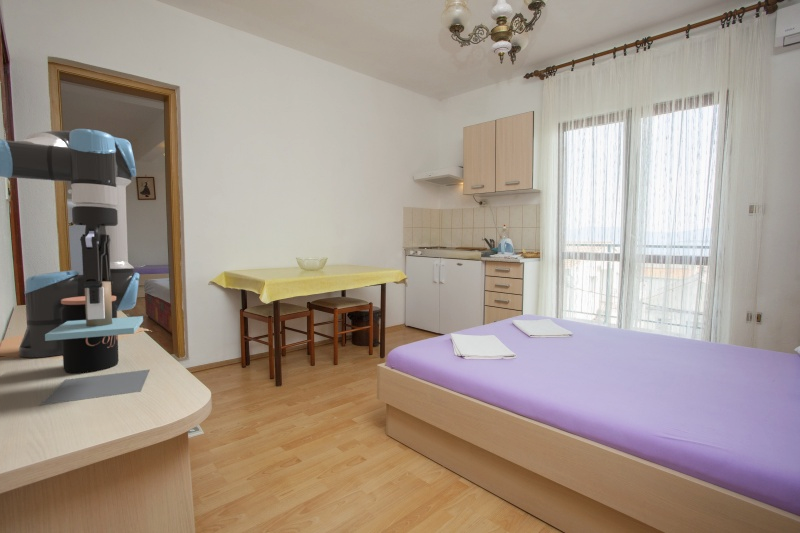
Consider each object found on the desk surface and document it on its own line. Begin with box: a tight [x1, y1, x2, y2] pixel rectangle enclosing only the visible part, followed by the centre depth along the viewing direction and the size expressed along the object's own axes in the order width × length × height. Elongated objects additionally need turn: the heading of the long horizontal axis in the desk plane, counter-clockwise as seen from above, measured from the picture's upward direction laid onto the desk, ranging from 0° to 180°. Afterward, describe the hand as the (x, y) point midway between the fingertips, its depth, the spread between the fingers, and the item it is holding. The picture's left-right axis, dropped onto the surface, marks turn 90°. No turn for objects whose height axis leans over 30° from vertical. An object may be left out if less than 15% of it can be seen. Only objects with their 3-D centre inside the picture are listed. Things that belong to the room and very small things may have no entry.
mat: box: [38, 369, 151, 407], centre depth 83 cm, size 16×16×1 cm
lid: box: [45, 281, 144, 341], centre depth 82 cm, size 14×14×10 cm
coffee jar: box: [61, 296, 120, 375], centre depth 95 cm, size 11×11×18 cm
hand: (99, 316), depth 82 cm, fingers closed on lid, 4 cm apart
